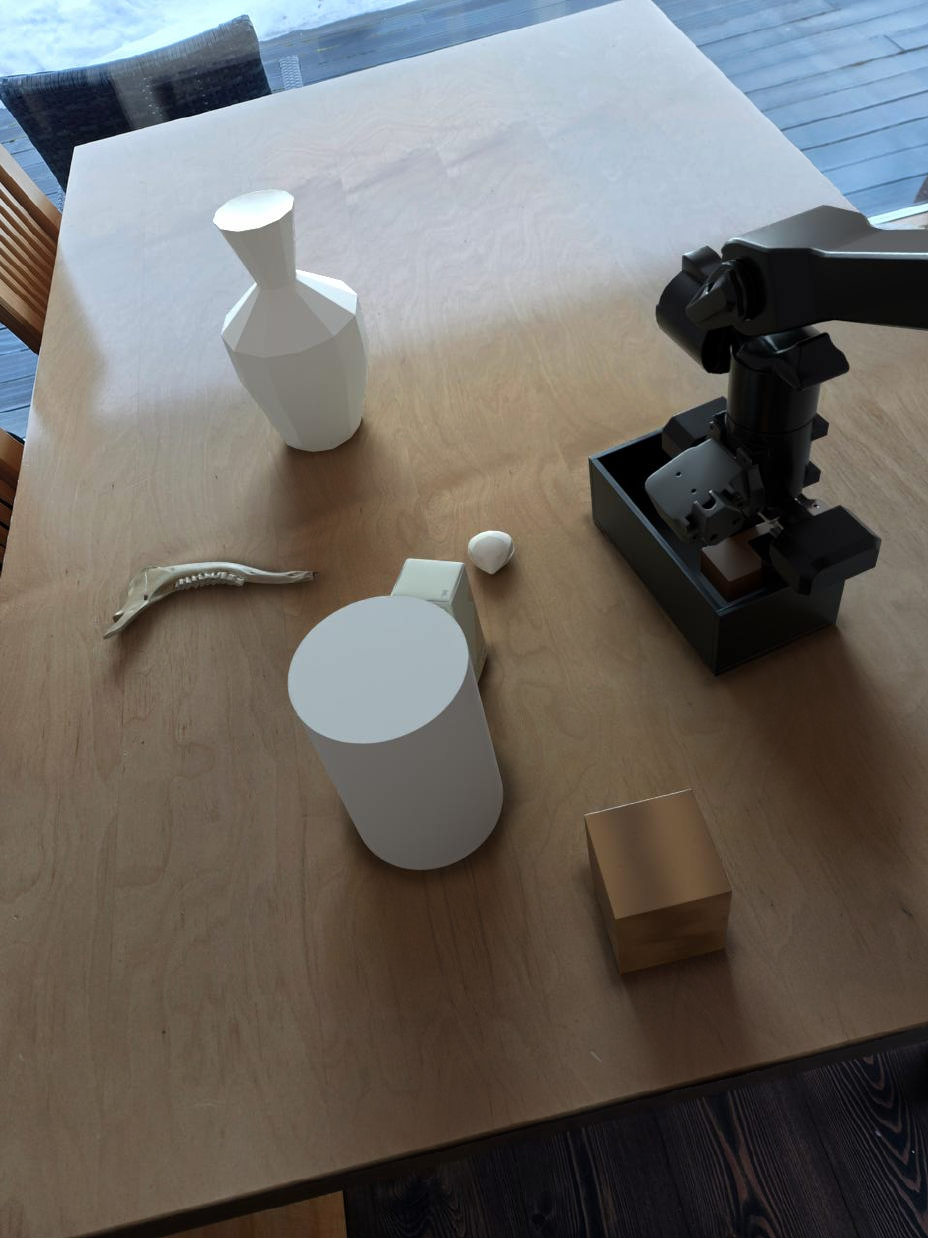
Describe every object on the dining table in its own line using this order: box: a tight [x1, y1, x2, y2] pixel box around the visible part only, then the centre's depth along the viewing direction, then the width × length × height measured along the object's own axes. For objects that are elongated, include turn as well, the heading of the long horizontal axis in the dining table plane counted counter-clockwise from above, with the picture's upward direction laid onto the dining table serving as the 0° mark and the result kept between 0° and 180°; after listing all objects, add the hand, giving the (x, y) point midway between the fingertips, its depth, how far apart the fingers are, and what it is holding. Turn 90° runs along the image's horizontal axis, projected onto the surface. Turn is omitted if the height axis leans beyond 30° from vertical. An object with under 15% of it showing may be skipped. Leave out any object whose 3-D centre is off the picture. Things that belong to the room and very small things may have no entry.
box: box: [389, 558, 489, 684], centre depth 75 cm, size 5×4×11 cm
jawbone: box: [102, 561, 320, 640], centre depth 90 cm, size 9×20×2 cm, turn 107°
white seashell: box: [467, 530, 515, 575], centre depth 85 cm, size 4×5×2 cm
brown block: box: [700, 522, 783, 603], centre depth 72 cm, size 7×4×2 cm, turn 112°
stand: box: [583, 788, 733, 975], centre depth 60 cm, size 7×7×9 cm
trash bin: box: [587, 426, 846, 678], centre depth 79 cm, size 21×11×8 cm, turn 23°
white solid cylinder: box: [287, 595, 504, 871], centre depth 65 cm, size 12×12×17 cm
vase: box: [212, 188, 370, 453], centre depth 94 cm, size 14×14×25 cm
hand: (753, 568), depth 73 cm, fingers closed on brown block, 4 cm apart
